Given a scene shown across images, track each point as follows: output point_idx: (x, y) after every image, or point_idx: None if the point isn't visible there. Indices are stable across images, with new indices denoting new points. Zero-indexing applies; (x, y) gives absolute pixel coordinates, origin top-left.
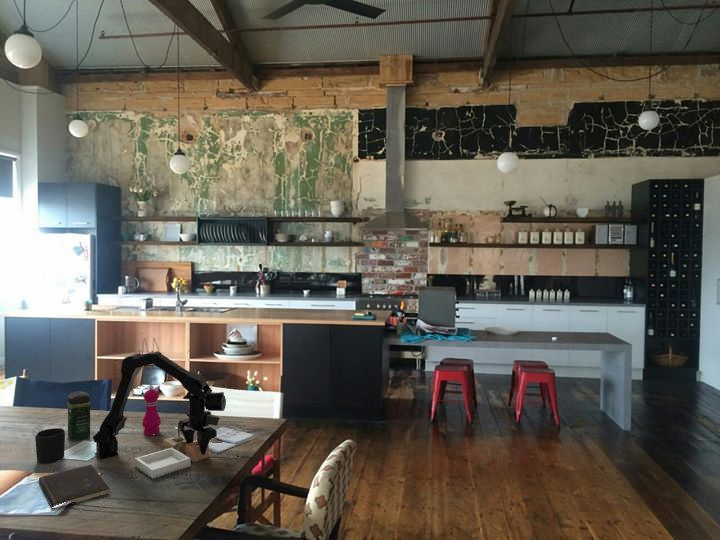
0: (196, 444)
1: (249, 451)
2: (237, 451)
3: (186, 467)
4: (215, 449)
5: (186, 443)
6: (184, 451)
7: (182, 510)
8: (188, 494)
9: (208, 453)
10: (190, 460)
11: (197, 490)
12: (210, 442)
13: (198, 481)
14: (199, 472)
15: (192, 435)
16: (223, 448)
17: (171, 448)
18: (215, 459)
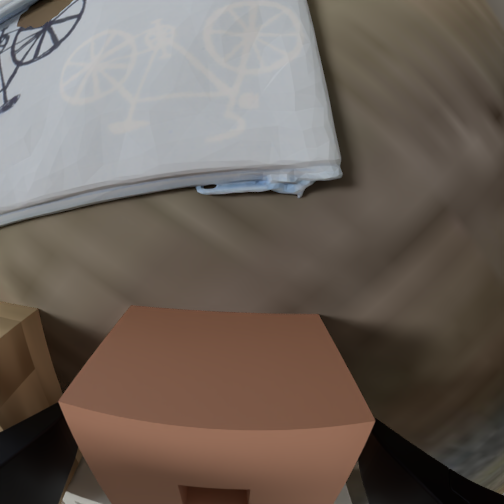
0: (183, 486)
1: (469, 5)
2: (422, 31)
3: None
4: (245, 159)
5: (15, 418)
6: (55, 391)
7: (493, 488)
8: (479, 482)
9: (327, 335)
10: (351, 502)
11: (493, 463)
12: (10, 88)
13: (474, 458)
14: (439, 447)
15: (3, 491)
16: (291, 63)
17: (68, 496)
18: (421, 300)
